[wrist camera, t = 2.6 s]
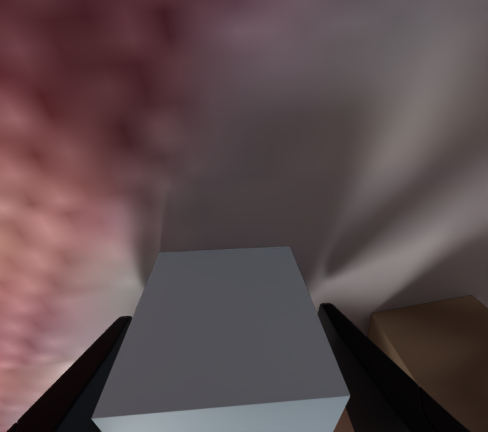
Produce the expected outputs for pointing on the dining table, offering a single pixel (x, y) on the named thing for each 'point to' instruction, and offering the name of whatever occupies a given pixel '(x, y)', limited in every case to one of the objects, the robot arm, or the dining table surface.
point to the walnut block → (441, 353)
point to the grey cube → (224, 350)
